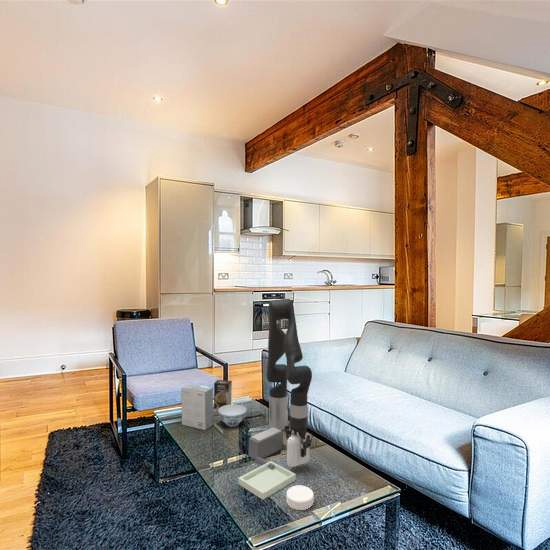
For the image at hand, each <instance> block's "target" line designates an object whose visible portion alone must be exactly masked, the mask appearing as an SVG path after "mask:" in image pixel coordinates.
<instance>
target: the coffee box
mask: <svg viewBox="0 0 550 550" xmlns="http://www.w3.org/2000/svg"><path fill="white" fill-rule="evenodd" d="M213 384H214V385H213V411H218V410H219V408H220V407H222V406H225V405H231V404H232V390H233V389H232V385H233V384H232V380H226V379H225V380H224V379H223V380H222V379H217V380H216V381H215V382H214V383H213Z"/></svg>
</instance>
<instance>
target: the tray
mask: <svg viewBox="0 0 550 550" xmlns="http://www.w3.org/2000/svg"><path fill="white" fill-rule="evenodd" d="M269 464H272V465H274V469H273V470H271V469H270V468H269ZM296 478H297V474H296V473H294V472H293V471H290V470H289V469H287V468H285V467H283V466H282V465H279V464H277V463H275V462H274V461H272V460H270V461H268V463H266V464H264V465H260V466H259V467H257V468H255V469H252V470H250V471H249V472H247V473H245V474H243V475H241V476H239V477H238V478H237V484H238V485H239V486H241V487H242V488H244V489H246V491H248V492H250V493H252V494H253V495H254V496H256V497H258V498H259V499H260V500H262V501H264V500H266V499H267V498H269V497H270V496H272V495H274V494H276V493H277V492H279V491H280V490H283V488H285V487H287V486H288V485H290V484H292V483H293V482H295V481H296V480H297V479H296Z"/></svg>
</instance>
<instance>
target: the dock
mask: <svg viewBox="0 0 550 550" xmlns="http://www.w3.org/2000/svg"><path fill="white" fill-rule="evenodd" d="M281 450H285V451H287V443H284V430H283V431H281V430H279V429H276V428H274V427H272V428H270V429H269V428H268V429H266V430H264V431H261V432H259V433H257V434H255V435H252V436H250V437H249V438H248V457H249V458H252V459H253V460H255V463H257V464H258V465H260V466H262V465H264V464H266V463H268V462H269V461H268V460H266V459H265V458H267V457H269V456H271V455H273V454H275V453H277V452H279V451H281ZM269 468H270V469H271V470H273V469H274V465H272V464H269Z"/></svg>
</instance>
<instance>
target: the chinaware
mask: <svg viewBox="0 0 550 550" xmlns="http://www.w3.org/2000/svg"><path fill="white" fill-rule="evenodd" d="M217 411H218V415H219V417H220V420H221V421H222V422H223V423H225V425H226V426H227V427H238V425H240V423H241V422H242V421H243V420H244V419H245V417H246V414H247V411H248V409H247V407H246V406H245V405H241V404H237V403H236V404H233V403H231V405H225V406H222V407H220V408H219V410H217Z"/></svg>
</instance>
